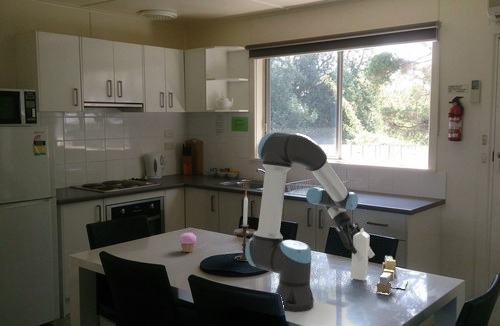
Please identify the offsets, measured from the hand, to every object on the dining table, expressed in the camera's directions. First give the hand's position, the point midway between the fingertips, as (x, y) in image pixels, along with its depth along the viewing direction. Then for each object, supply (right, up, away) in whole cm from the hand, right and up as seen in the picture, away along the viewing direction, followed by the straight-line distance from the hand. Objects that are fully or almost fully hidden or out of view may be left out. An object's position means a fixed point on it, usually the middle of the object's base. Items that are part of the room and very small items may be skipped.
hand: (366, 258), depth 213 cm
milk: (-3, -9, +3) cm, 10 cm away
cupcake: (-83, -4, +39) cm, 92 cm away
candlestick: (-54, -6, +28) cm, 61 cm away
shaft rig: (+9, -11, +1) cm, 14 cm away
